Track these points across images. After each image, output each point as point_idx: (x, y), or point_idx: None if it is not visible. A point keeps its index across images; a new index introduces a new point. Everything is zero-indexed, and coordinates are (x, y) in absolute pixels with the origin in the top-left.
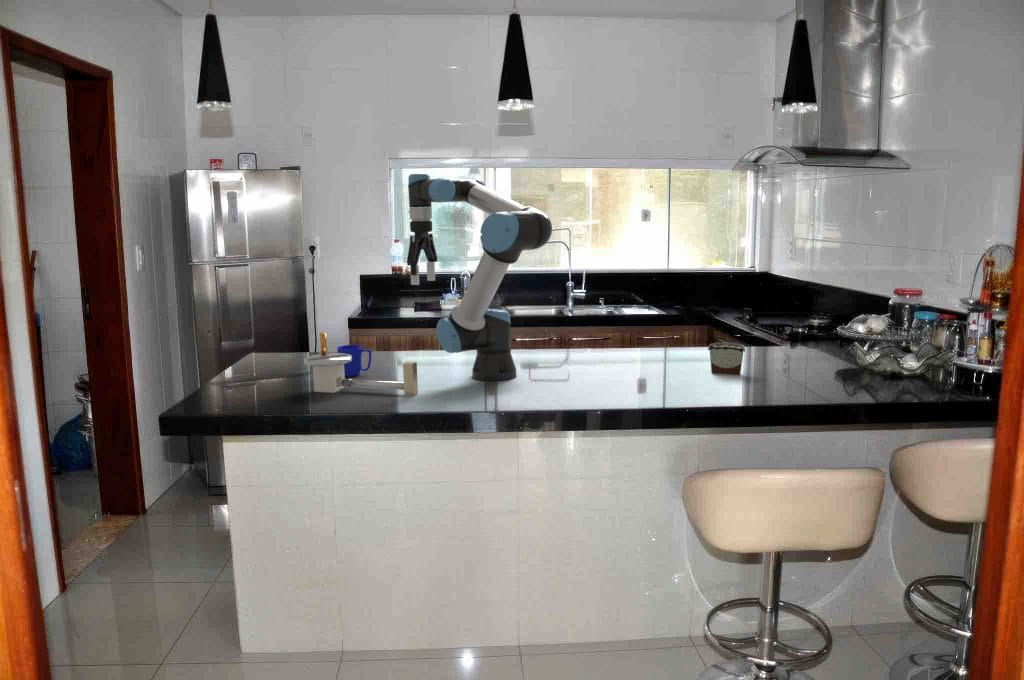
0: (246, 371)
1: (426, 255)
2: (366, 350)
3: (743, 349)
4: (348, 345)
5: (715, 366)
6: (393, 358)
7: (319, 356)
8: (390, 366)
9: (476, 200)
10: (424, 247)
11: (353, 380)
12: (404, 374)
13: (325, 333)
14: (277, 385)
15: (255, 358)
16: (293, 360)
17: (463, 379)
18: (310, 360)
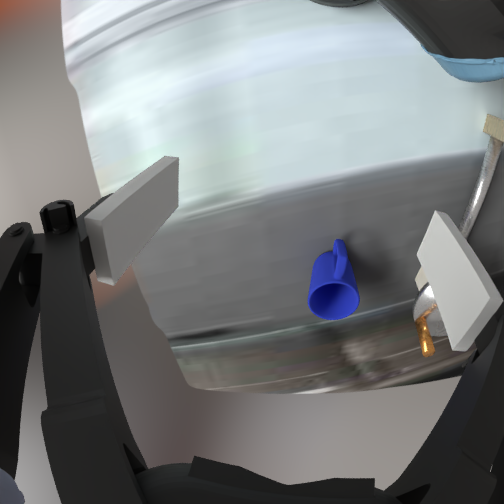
0: (298, 383)
1: (99, 331)
2: (346, 264)
3: None
4: (311, 307)
5: None
6: (173, 224)
7: (439, 321)
8: (248, 210)
9: None
10: (244, 473)
11: (466, 239)
12: None
13: (432, 348)
14: (392, 337)
15: (220, 387)
16: (223, 356)
17: (373, 23)
18: None
